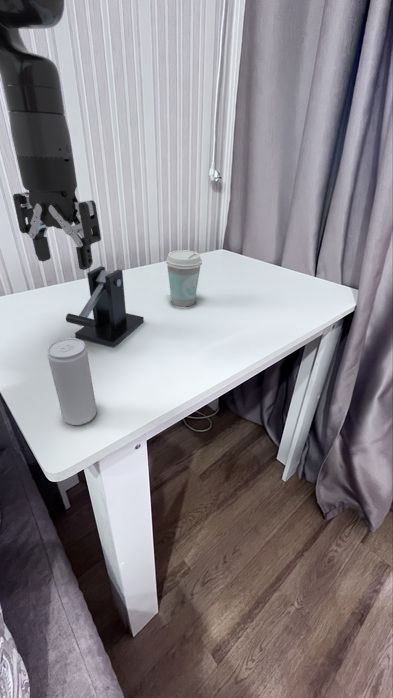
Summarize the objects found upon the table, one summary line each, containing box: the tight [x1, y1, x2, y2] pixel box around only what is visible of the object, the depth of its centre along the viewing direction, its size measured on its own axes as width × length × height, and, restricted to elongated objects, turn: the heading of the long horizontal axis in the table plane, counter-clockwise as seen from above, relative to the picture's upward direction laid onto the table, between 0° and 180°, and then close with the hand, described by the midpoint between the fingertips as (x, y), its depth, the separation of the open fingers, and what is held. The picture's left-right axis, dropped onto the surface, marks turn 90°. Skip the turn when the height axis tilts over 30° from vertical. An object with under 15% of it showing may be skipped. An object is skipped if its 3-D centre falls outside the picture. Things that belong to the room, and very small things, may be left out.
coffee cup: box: [165, 249, 203, 307], centre depth 80 cm, size 8×8×12 cm
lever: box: [65, 269, 113, 328], centre depth 63 cm, size 12×5×2 cm, turn 159°
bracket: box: [74, 265, 145, 348], centre depth 67 cm, size 12×9×13 cm
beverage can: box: [47, 337, 98, 426], centre depth 46 cm, size 5×5×12 cm
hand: (64, 264), depth 56 cm, fingers open, 8 cm apart
